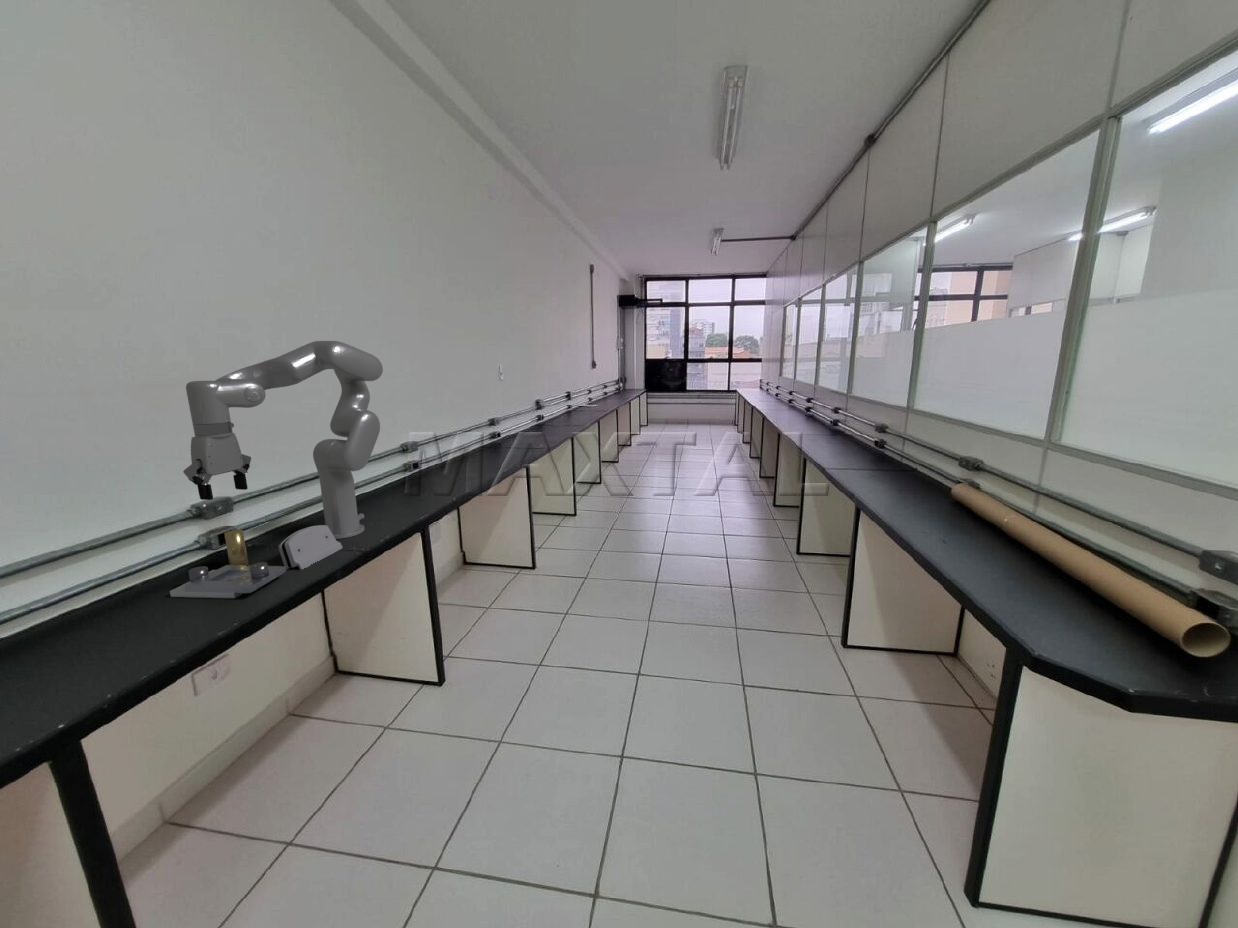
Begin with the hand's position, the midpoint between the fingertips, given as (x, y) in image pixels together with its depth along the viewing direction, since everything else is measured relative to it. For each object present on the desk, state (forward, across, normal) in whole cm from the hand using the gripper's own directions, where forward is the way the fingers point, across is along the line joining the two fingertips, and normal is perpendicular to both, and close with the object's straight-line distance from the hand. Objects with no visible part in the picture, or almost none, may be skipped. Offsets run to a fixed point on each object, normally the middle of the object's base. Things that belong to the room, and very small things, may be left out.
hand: (224, 494), depth 125 cm
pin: (+22, -3, -3) cm, 22 cm away
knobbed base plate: (+22, +8, +7) cm, 24 cm away
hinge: (+22, -11, +12) cm, 28 cm away
